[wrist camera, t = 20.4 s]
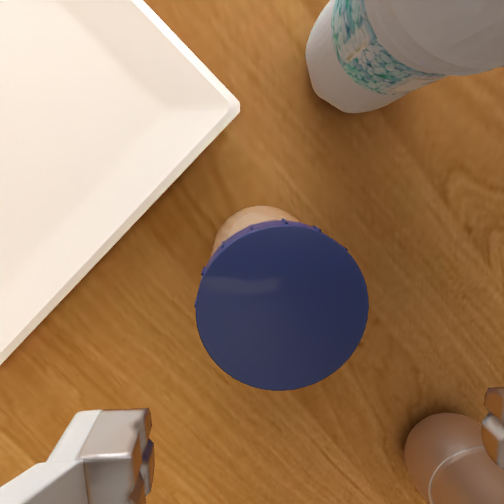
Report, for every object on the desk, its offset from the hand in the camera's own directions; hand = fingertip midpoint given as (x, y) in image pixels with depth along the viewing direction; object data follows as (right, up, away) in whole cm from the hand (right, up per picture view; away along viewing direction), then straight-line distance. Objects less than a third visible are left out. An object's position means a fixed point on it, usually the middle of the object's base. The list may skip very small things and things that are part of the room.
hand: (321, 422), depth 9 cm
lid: (0, +2, +7) cm, 8 cm away
